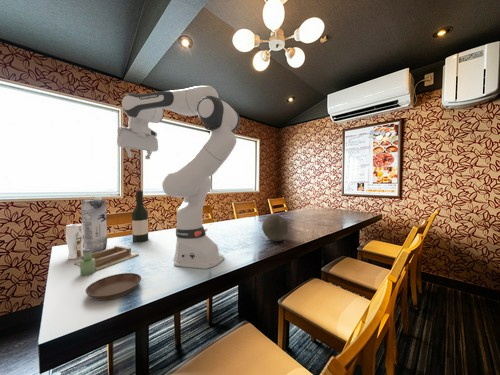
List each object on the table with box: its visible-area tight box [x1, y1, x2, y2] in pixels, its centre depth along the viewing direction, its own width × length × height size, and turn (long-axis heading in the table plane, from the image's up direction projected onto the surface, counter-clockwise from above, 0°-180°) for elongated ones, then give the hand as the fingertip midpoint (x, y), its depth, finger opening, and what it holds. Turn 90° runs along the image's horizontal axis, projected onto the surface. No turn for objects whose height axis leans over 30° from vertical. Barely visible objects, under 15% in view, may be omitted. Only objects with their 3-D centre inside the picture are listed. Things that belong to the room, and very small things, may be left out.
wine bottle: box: [131, 189, 149, 243], centre depth 119 cm, size 8×8×30 cm
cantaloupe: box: [261, 214, 289, 242], centre depth 115 cm, size 14×14×15 cm
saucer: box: [85, 272, 142, 301], centre depth 65 cm, size 15×15×3 cm
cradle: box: [73, 245, 140, 272], centre depth 90 cm, size 16×18×4 cm
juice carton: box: [80, 196, 108, 253], centre depth 104 cm, size 9×10×27 cm
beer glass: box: [65, 223, 85, 260], centre depth 93 cm, size 7×7×15 cm
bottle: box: [79, 249, 97, 277], centre depth 77 cm, size 4×4×9 cm
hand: (139, 158), depth 101 cm, fingers open, 8 cm apart
